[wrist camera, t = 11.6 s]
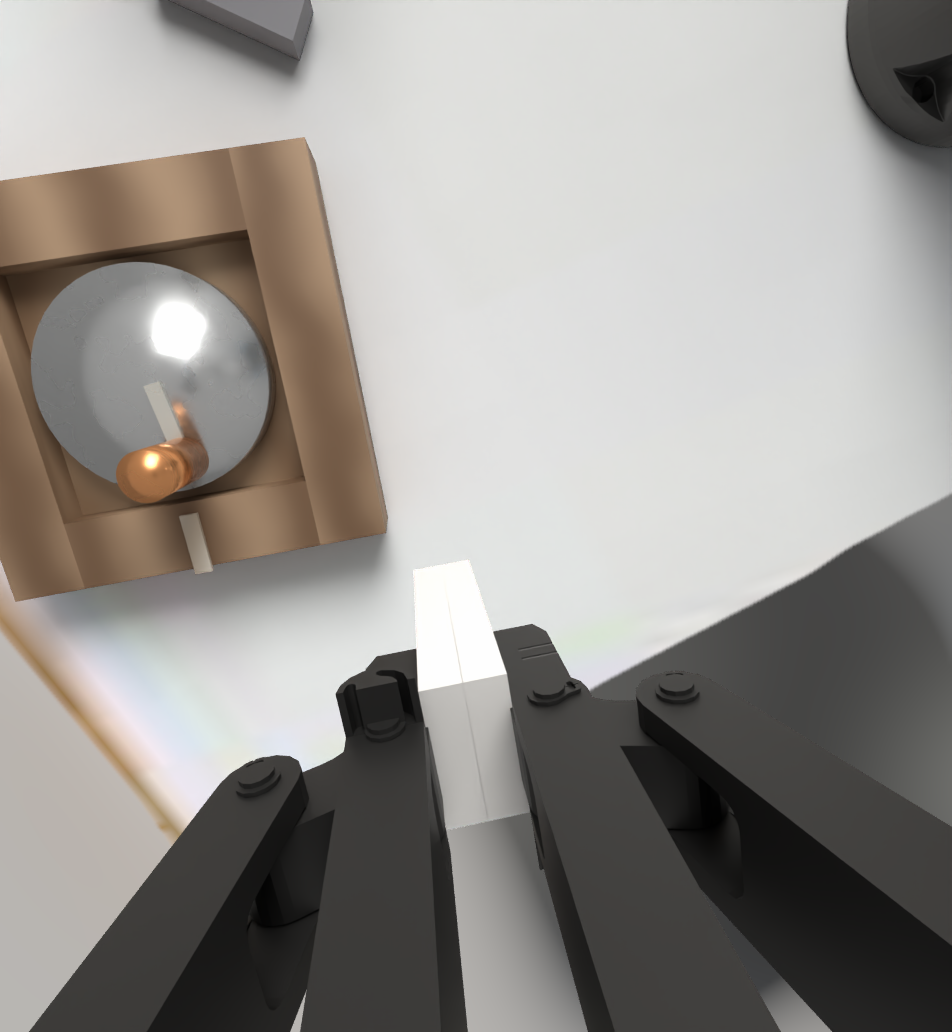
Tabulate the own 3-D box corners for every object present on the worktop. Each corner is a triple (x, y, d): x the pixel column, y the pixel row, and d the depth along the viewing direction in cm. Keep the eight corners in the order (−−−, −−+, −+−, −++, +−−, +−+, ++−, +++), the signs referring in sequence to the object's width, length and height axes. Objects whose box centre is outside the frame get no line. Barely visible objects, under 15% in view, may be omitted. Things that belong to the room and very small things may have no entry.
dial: (10, 305, 36) (-99, 288, 28) (226, 239, 36) (178, 204, 28) (108, 513, 39) (34, 549, 31) (306, 449, 39) (281, 470, 32)
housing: (315, 162, 38) (303, 135, 33) (388, 521, 43) (386, 538, 39) (-69, 218, 36) (-135, 197, 32) (56, 582, 42) (14, 608, 37)
